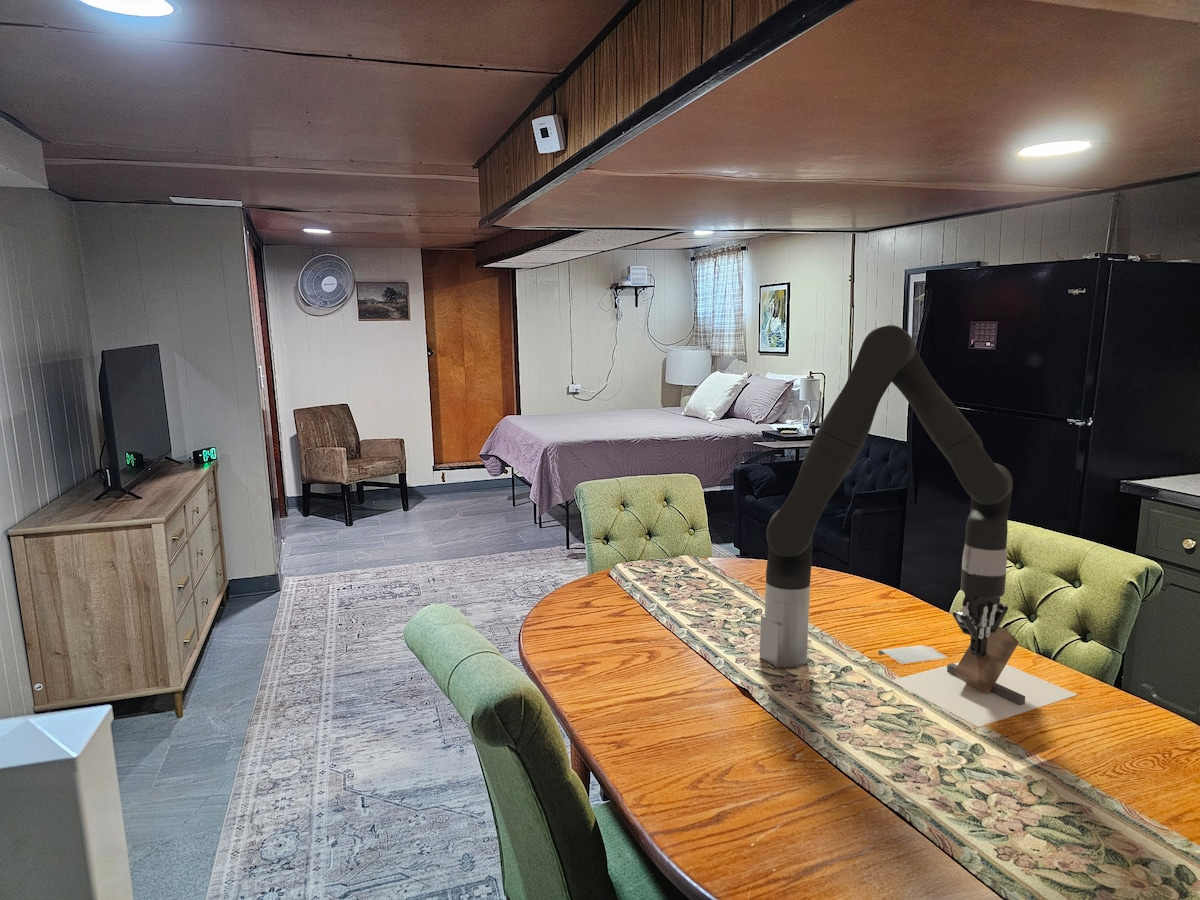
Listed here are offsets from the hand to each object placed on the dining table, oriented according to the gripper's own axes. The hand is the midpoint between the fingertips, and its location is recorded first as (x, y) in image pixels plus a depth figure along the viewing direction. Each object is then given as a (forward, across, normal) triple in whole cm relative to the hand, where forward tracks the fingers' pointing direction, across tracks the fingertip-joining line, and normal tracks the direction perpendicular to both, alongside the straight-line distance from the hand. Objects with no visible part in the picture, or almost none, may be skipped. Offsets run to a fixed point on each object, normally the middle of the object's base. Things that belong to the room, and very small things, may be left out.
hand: (977, 654), depth 143 cm
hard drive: (+9, -3, -18) cm, 20 cm away
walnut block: (+6, +1, 0) cm, 6 cm away
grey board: (+8, -2, 0) cm, 9 cm away
